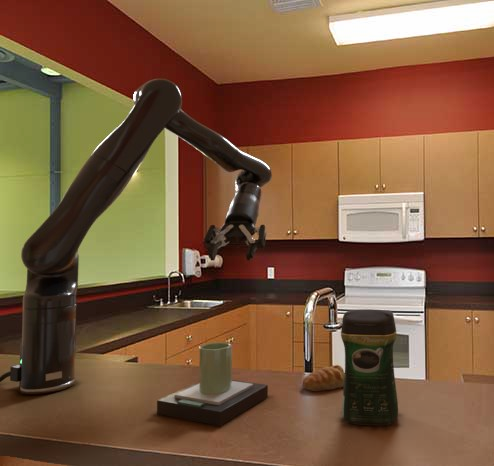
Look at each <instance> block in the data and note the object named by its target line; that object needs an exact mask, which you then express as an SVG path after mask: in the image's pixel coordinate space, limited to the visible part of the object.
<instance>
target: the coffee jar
mask: <svg viewBox="0 0 494 466" xmlns="http://www.w3.org/2000/svg"><path fill="white" fill-rule="evenodd" d="M341 320H342V321H341V329H340V338H341V340H342V343H343V347H344V348H343V349H344V373H345V375H344V386H343V387H342V388H343V389H342V401H341V402H342V404H341V415H342V418H343V420H344V421H346V422H347V423H348V424H352V425H362V426H389V425H391V424H393V423H395V422H396V421H397V418H398V415H399V401H398V393H397V385H396V377H395V368H394V344H395V342H396V338H397V326H396V321H395V316H394V312H393V311H392V310H389V309H388V310H386V309H372V308H371V309H369V308H366V309H365V308H364V309H361V308H360V309H349V310H346V312H345V313H344V314H343V316H342V319H341Z"/></svg>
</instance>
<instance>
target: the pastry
mask: <svg viewBox="0 0 494 466" xmlns="http://www.w3.org/2000/svg"><path fill="white" fill-rule="evenodd" d="M344 375H345V369H344V368H343V367H342V365H339V364H334V365H333V364H332V365H331V366H323V367H319V368H318V369H316V370H315V371H314V372H311V373H309V374H308V375H307V376H305V377H303V379H302V382H301V387H302V388H304V389H306V390H310V391H312V392H320V391H327V390H328V391H329V390H334V389H337V388H338V389H339V388H344Z"/></svg>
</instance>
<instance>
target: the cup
mask: <svg viewBox="0 0 494 466" xmlns="http://www.w3.org/2000/svg"><path fill="white" fill-rule="evenodd" d="M198 349H199V350H198V353H199V354H198V355H199V356H198V383H199V392H200V393H203V394H219V393H223V392H226V391H228V390H230V389H231V388H232V380H233V344H232V343H230V342H224V341H223V342H222V341H221V342H210V343H205V344H202V345H200V346H198Z"/></svg>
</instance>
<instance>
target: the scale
mask: <svg viewBox="0 0 494 466" xmlns="http://www.w3.org/2000/svg"><path fill="white" fill-rule="evenodd" d="M268 388H269V386H268V384H263V383H257V382H256V383H255V382H248V381H242V380H235V379H232V388H231V389H230V390H228V391H226V392H223V393H219V394H203V393H200V392H199V382H197V383H195V384H192V385H190V386H187V387H185V388H183V389H180V390H178V391H176V392H174V393H171V394H169V395H167V396H164V397H161V398H160V399H158V400H156V414H157V415H159V416H160V415H161V416H166V417H172V418H176V419H181V420H186V421H191V422H197V423H201V424H207V425H212V426H217V427H221V426H223V425H224V424H226V423H228V422H230V421H231V420H233V419H234V418H237V417H238V416H240V415H241V414H242V413H244V412H246V411H248V410H250V408H253V407H254V406H255V405H257V404H259V403H260V402H262V401H264V400H266V399H267V398H268V395H269V393H268V390H269V389H268Z"/></svg>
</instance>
